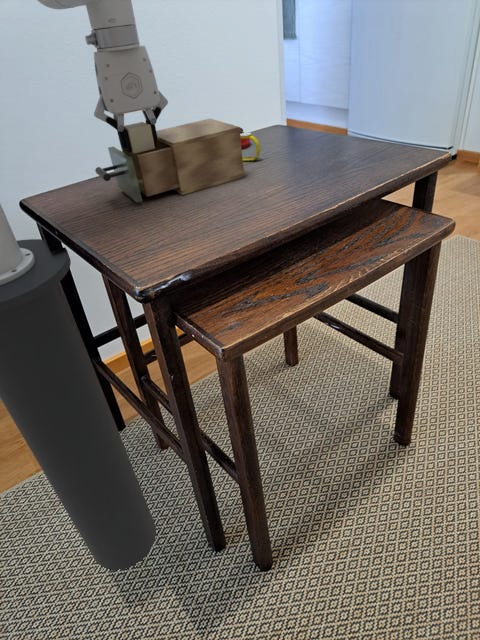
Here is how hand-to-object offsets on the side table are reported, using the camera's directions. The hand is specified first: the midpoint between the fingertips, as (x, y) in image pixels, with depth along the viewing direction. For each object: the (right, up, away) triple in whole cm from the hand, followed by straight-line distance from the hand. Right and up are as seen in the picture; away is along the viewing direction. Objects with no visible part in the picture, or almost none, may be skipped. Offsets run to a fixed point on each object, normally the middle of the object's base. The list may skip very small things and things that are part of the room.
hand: (140, 147), depth 88 cm
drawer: (+1, -7, +5) cm, 8 cm away
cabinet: (+11, -3, +9) cm, 15 cm away
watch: (+22, +3, +17) cm, 28 cm away
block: (0, 0, 0) cm, 0 cm away
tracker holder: (+18, +12, +30) cm, 37 cm away
